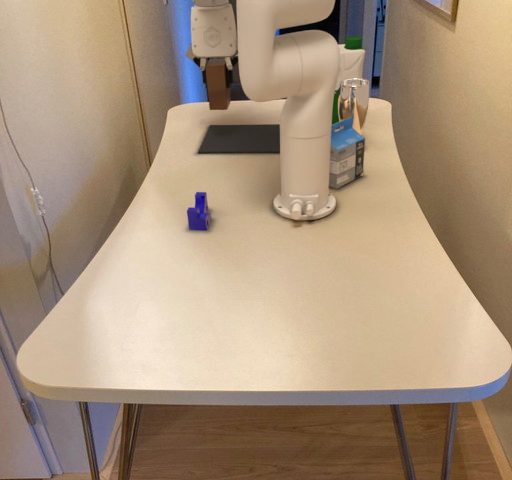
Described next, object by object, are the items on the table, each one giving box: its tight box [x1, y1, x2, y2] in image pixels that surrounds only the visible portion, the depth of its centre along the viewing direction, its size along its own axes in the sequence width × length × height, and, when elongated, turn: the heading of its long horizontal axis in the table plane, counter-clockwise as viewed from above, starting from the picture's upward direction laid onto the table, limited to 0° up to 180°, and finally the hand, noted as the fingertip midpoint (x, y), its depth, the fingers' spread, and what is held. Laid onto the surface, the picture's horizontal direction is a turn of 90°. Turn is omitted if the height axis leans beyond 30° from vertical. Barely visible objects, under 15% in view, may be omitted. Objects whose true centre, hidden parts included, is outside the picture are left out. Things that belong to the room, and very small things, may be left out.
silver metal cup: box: [338, 77, 370, 137], centre depth 128 cm, size 7×7×15 cm
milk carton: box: [332, 35, 366, 129], centre depth 139 cm, size 9×9×20 cm
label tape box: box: [329, 116, 366, 190], centre depth 116 cm, size 9×4×12 cm, turn 132°
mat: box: [197, 123, 280, 155], centre depth 140 cm, size 18×22×1 cm
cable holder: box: [186, 191, 212, 231], centre depth 108 cm, size 8×4×4 cm, turn 171°
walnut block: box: [205, 57, 232, 111], centre depth 132 cm, size 6×4×10 cm
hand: (218, 85), depth 132 cm, fingers closed on walnut block, 4 cm apart
